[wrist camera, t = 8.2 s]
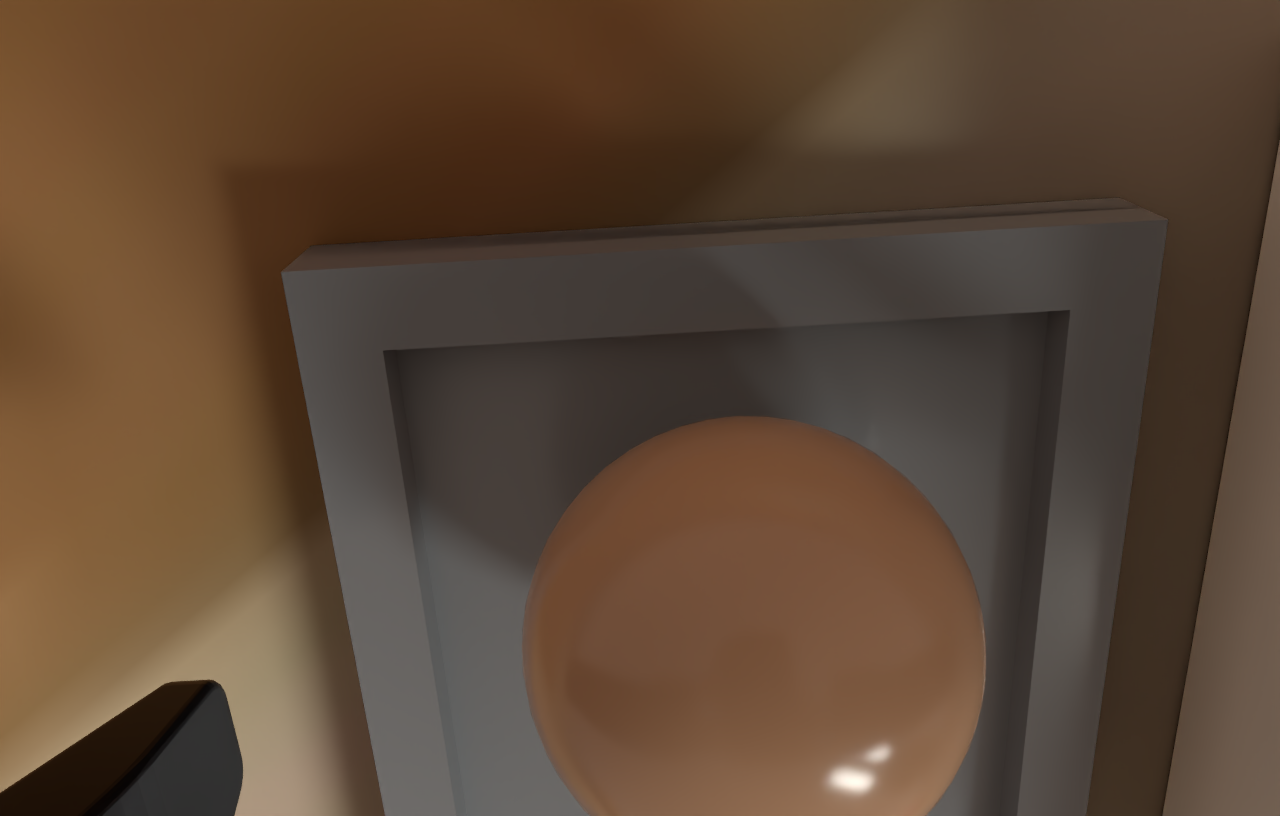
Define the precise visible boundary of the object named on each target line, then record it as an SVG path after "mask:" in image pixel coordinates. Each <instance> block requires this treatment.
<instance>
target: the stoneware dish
mask: <svg viewBox="0 0 1280 816" xmlns="http://www.w3.org/2000/svg"><path fill="white" fill-rule="evenodd" d="M1162 816H1280V142H1279V148H1278V153H1277V159H1276V165H1275V171H1274V176H1273V182H1272V188H1271V194H1270V199H1269V205H1268V211H1267V217H1266V222H1265V228H1264V234H1263V240H1262V245H1261V251H1260V257H1259V263H1258V268H1257V274H1256V280H1255V286H1254V291H1253V297H1252V303H1251V309H1250V314H1249V320H1248V326H1247V332H1246V337H1245V343H1244V349H1243V355H1242V360H1241V366H1240V372H1239V378H1238V383H1237V389H1236V395H1235V401H1234V406H1233V412H1232V418H1231V424H1230V429H1229V435H1228V441H1227V447H1226V452H1225V458H1224V464H1223V470H1222V475H1221V481H1220V487H1219V493H1218V498H1217V504H1216V510H1215V516H1214V522H1213V527H1212V533H1211V539H1210V545H1209V550H1208V556H1207V562H1206V568H1205V573H1204V579H1203V585H1202V591H1201V596H1200V602H1199V608H1198V614H1197V619H1196V625H1195V631H1194V637H1193V642H1192V648H1191V654H1190V660H1189V665H1188V671H1187V677H1186V683H1185V688H1184V694H1183V700H1182V706H1181V711H1180V717H1179V723H1178V729H1177V734H1176V740H1175V746H1174V752H1173V757H1172V763H1171V769H1170V775H1169V780H1168V786H1167V792H1166V798H1165V803H1164V809H1163V815H1162Z"/></svg>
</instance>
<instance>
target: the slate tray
mask: <svg viewBox="0 0 1280 816" xmlns="http://www.w3.org/2000/svg"><path fill="white" fill-rule="evenodd" d="M1167 226H1168V219H1166V218H1164V217H1162V216H1160V215H1157V214H1155V213H1153V212H1151V211H1148V210H1146V209H1144V208H1142V207H1139V206H1137V205H1135V204H1133V203H1130V202H1128V201H1126V200H1124V199H1121V198H1104V199H1087V200H1070V201H1053V202H1037V203H1020V204H1003V205H986V206H969V207H952V208H936V209H919V210H902V211H885V212H868V213H851V214H835V215H818V216H801V217H784V218H767V219H750V220H734V221H717V222H700V223H683V224H666V225H649V226H633V227H616V228H599V229H582V230H565V231H548V232H531V233H515V234H498V235H481V236H464V237H447V238H430V239H414V240H397V241H380V242H363V243H346V244H329V245H313V246H310V247H309V248H308V249H307V250H305V251H304V252H303V253H302V254H301V255H300V256H299V257H297V258H296V259H295V260H294V261H293V262H292V263H291V264H290V265H288V266H287V267H286V268H285V269H284V270H283V271H282V272H281V275H282V280H283V285H284V291H285V296H286V301H287V306H288V312H289V317H290V322H291V327H292V332H293V338H294V343H295V348H296V353H297V359H298V364H299V369H300V374H301V379H302V385H303V390H304V395H305V400H306V406H307V411H308V416H309V421H310V426H311V432H312V437H313V442H314V447H315V452H316V458H317V463H318V468H319V473H320V479H321V484H322V489H323V494H324V499H325V505H326V510H327V515H328V520H329V526H330V531H331V536H332V541H333V546H334V552H335V557H336V562H337V567H338V573H339V578H340V583H341V588H342V593H343V599H344V604H345V609H346V614H347V620H348V625H349V630H350V635H351V640H352V646H353V651H354V656H355V661H356V666H357V672H358V677H359V682H360V687H361V693H362V698H363V703H364V708H365V713H366V719H367V724H368V729H369V734H370V740H371V745H372V750H373V755H374V760H375V766H376V771H377V776H378V781H379V787H380V792H381V797H382V802H383V807H384V813H385V816H589V815H588V814H587V813H586V812H585V811H584V810H583V809H582V807H581V806H580V805H579V803H578V802H577V801H576V799H575V798H574V797H573V795H572V794H571V793H570V792H569V790H568V789H567V787H566V786H565V785H564V783H563V782H562V781H561V779H560V778H559V776H558V775H557V773H556V771H555V769H554V767H553V766H552V764H551V762H550V760H549V758H548V756H547V754H546V752H545V750H544V747H543V745H542V743H541V740H540V738H539V735H538V733H537V730H536V727H535V724H534V722H533V719H532V716H531V712H530V707H529V702H528V697H527V692H526V687H525V682H524V676H523V667H522V628H523V619H524V611H525V603H526V600H527V596H528V592H529V588H530V585H531V581H532V578H533V574H534V570H535V567H536V563H537V561H538V559H539V557H540V554H541V552H542V550H543V548H544V546H545V543H546V541H547V539H548V537H549V536H550V534H551V532H552V530H553V529H554V527H555V525H556V524H557V522H558V521H559V519H560V518H561V516H562V514H563V513H564V511H565V510H566V508H567V506H568V505H569V504H570V503H571V502H572V500H573V499H574V498H575V497H576V496H577V495H578V493H579V492H580V491H581V490H582V489H583V487H584V486H585V485H586V484H587V483H589V482H590V481H591V480H592V479H593V478H594V477H595V476H596V475H597V474H599V473H600V472H601V471H602V470H603V469H604V468H605V467H606V466H608V465H609V464H610V463H611V462H612V461H614V460H615V459H617V458H618V457H619V456H621V455H622V454H624V453H625V452H627V451H628V450H630V449H631V448H632V447H634V446H636V445H638V444H640V443H642V442H644V441H646V440H648V439H650V438H651V437H653V436H655V435H657V434H660V433H663V432H665V431H668V430H671V429H673V428H676V427H679V426H681V425H685V424H689V423H693V422H698V421H702V420H706V419H711V418H720V417H728V416H770V417H778V418H786V419H792V420H796V421H800V422H803V423H807V424H811V425H815V426H818V427H821V428H824V429H827V430H829V431H832V432H834V433H837V434H839V435H842V436H845V437H847V438H850V439H851V440H853V441H855V442H857V443H859V444H860V445H862V446H864V447H866V448H868V449H869V450H871V451H873V452H874V453H876V454H877V455H878V456H880V457H881V458H882V459H884V460H885V461H886V462H888V463H889V464H890V465H892V466H893V467H894V468H896V469H897V470H898V471H899V472H901V473H902V474H903V475H905V476H906V477H907V478H908V479H909V480H910V481H911V482H912V483H913V484H914V485H915V486H916V487H917V488H918V489H919V490H920V491H921V492H922V493H923V494H924V495H925V496H926V498H927V499H928V500H929V501H930V503H931V504H932V505H933V507H934V508H935V509H936V511H937V512H938V513H939V515H940V516H941V518H942V519H943V520H944V522H945V523H946V524H947V526H948V527H949V529H950V530H951V532H952V533H953V535H954V537H955V539H956V541H957V543H958V545H959V547H960V549H961V551H962V553H963V555H964V557H965V560H966V562H967V564H968V566H969V568H970V571H971V574H972V577H973V580H974V583H975V586H976V589H977V592H978V595H979V600H980V605H981V610H982V615H983V621H984V628H985V634H986V684H985V690H984V696H983V702H982V708H981V712H980V716H979V719H978V723H977V727H976V730H975V733H974V736H973V739H972V742H971V745H970V748H969V750H968V752H967V754H966V756H965V758H964V760H963V762H962V764H961V766H960V768H959V770H958V772H957V774H956V776H955V777H954V779H953V781H952V783H951V784H950V786H949V787H948V789H947V790H946V792H945V793H944V795H943V796H942V798H941V799H940V801H939V802H938V803H937V804H936V806H935V807H934V808H933V809H932V810H931V811H930V812H929V813H928V815H927V816H1086V813H1087V806H1088V799H1089V791H1090V784H1091V777H1092V770H1093V762H1094V755H1095V748H1096V741H1097V733H1098V726H1099V719H1100V712H1101V704H1102V697H1103V690H1104V683H1105V675H1106V668H1107V661H1108V654H1109V646H1110V639H1111V632H1112V625H1113V617H1114V610H1115V603H1116V596H1117V588H1118V581H1119V574H1120V567H1121V559H1122V552H1123V545H1124V538H1125V530H1126V523H1127V516H1128V509H1129V501H1130V494H1131V487H1132V480H1133V472H1134V465H1135V458H1136V451H1137V444H1138V436H1139V429H1140V422H1141V415H1142V407H1143V400H1144V393H1145V386H1146V378H1147V371H1148V364H1149V357H1150V349H1151V342H1152V335H1153V328H1154V320H1155V313H1156V306H1157V299H1158V291H1159V284H1160V277H1161V270H1162V262H1163V255H1164V248H1165V241H1166V233H1167Z"/></svg>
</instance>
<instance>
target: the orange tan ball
mask: <svg viewBox="0 0 1280 816" xmlns="http://www.w3.org/2000/svg"><path fill="white" fill-rule="evenodd" d="M522 667H523V676H524V682H525V687H526V692H527V697H528V702H529V707H530V712H531V716H532V719H533V722H534V724H535V727H536V730H537V733H538V735H539V738H540V740H541V743H542V745H543V747H544V750H545V752H546V754H547V756H548V758H549V760H550V762H551V764H552V766H553V767H554V769H555V771H556V773H557V775H558V776H559V778H560V779H561V781H562V782H563V783H564V785H565V786H566V787H567V789H568V790H569V792H570V793H571V794H572V795H573V797H574V798H575V799H576V801H577V802H578V803H579V805H580V806H581V807H582V809H583V810H584V811H585V812H586V813H587V814H588V815H589V816H927V815H928V813H929V812H930V811H931V810H932V809H933V808H934V807H935V806H936V804H937V803H938V802H939V801H940V799H941V798H942V796H943V795H944V793H945V792H946V790H947V789H948V787H949V786H950V784H951V783H952V781H953V779H954V777H955V776H956V774H957V772H958V770H959V768H960V766H961V764H962V762H963V760H964V758H965V756H966V754H967V752H968V750H969V748H970V745H971V742H972V739H973V736H974V733H975V730H976V727H977V723H978V719H979V716H980V712H981V708H982V702H983V696H984V690H985V684H986V634H985V628H984V621H983V615H982V610H981V605H980V600H979V595H978V592H977V589H976V586H975V583H974V580H973V577H972V574H971V571H970V568H969V566H968V564H967V562H966V560H965V557H964V555H963V553H962V551H961V549H960V547H959V545H958V543H957V541H956V539H955V537H954V535H953V533H952V532H951V530H950V529H949V527H948V526H947V524H946V523H945V522H944V520H943V519H942V518H941V516H940V515H939V513H938V512H937V511H936V509H935V508H934V507H933V505H932V504H931V503H930V501H929V500H928V499H927V498H926V496H925V495H924V494H923V493H922V492H921V491H920V490H919V489H918V488H917V487H916V486H915V485H914V484H913V483H912V482H911V481H910V480H909V479H908V478H907V477H906V476H905V475H903V474H902V473H901V472H899V471H898V470H897V469H896V468H894V467H893V466H892V465H890V464H889V463H888V462H886V461H885V460H884V459H882V458H881V457H880V456H878V455H877V454H876V453H874V452H873V451H871V450H869V449H868V448H866V447H864V446H862V445H860V444H859V443H857V442H855V441H853V440H851V439H850V438H847V437H845V436H842V435H839V434H837V433H834V432H832V431H829V430H827V429H824V428H821V427H818V426H815V425H811V424H807V423H803V422H800V421H796V420H792V419H786V418H778V417H770V416H728V417H720V418H711V419H706V420H702V421H698V422H693V423H689V424H685V425H681V426H679V427H676V428H673V429H671V430H668V431H665V432H663V433H660V434H657V435H655V436H653V437H651V438H650V439H648V440H646V441H644V442H642V443H640V444H638V445H636V446H634V447H632V448H631V449H630V450H628V451H627V452H625V453H624V454H622V455H621V456H619V457H618V458H617V459H615V460H614V461H612V462H611V463H610V464H609V465H608V466H606V467H605V468H604V469H603V470H602V471H601V472H600V473H599V474H597V475H596V476H595V477H594V478H593V479H592V480H591V481H590V482H589V483H587V484H586V485H585V486H584V487H583V489H582V490H581V491H580V492H579V493H578V495H577V496H576V497H575V498H574V499H573V500H572V502H571V503H570V504H569V505H568V506H567V508H566V510H565V511H564V513H563V514H562V516H561V518H560V519H559V521H558V522H557V524H556V525H555V527H554V529H553V530H552V532H551V534H550V536H549V537H548V539H547V541H546V543H545V546H544V548H543V550H542V552H541V554H540V557H539V559H538V561H537V563H536V567H535V570H534V574H533V578H532V581H531V585H530V588H529V592H528V596H527V600H526V603H525V611H524V619H523V628H522Z"/></svg>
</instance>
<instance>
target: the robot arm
mask: <svg viewBox="0 0 1280 816" xmlns="http://www.w3.org/2000/svg"><path fill="white" fill-rule="evenodd" d="M242 779H243V763H242V757H241V752H240V748H239V744H238V740H237V736H236V732H235V729H234V725H233V721H232V717H231V713H230V709H229V705H228V701H227V697H226V694H225V692H224V690H223V688H222V686H221V685H220V684H219V683H217V682H215V681H214V680H196V681H178V682H170V683H166V684H164V685H162V686H161V687H159V688H158V689H156V690H155V691H153V692H152V693H150V694H149V695H147V696H146V697H144V698H143V699H141V700H140V701H138V702H137V703H135V704H134V705H132V706H131V707H129V708H127V709H126V710H124V711H123V712H121V713H120V714H118V715H117V716H115V717H114V718H112V719H111V720H109V721H108V722H106V723H105V724H103V725H102V726H100V727H99V728H97V729H96V730H94V731H93V732H91V733H90V734H88V735H87V736H85V737H84V738H82V739H81V740H79V741H78V742H76V743H75V744H73V745H72V746H70V747H69V748H67V749H66V750H64V751H63V752H61V753H60V754H58V755H57V756H55V757H54V758H52V759H51V760H49V761H48V762H46V763H45V764H43V765H42V766H40V767H39V768H37V769H36V770H34V771H33V772H31V773H29V774H28V775H26V776H25V777H23V778H22V779H20V780H19V781H17V782H16V783H14V784H13V785H11V786H10V787H8V788H7V789H5V790H4V791H2V792H1V793H0V816H234V815H235V811H236V807H237V803H238V799H239V795H240V791H241V787H242Z"/></svg>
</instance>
